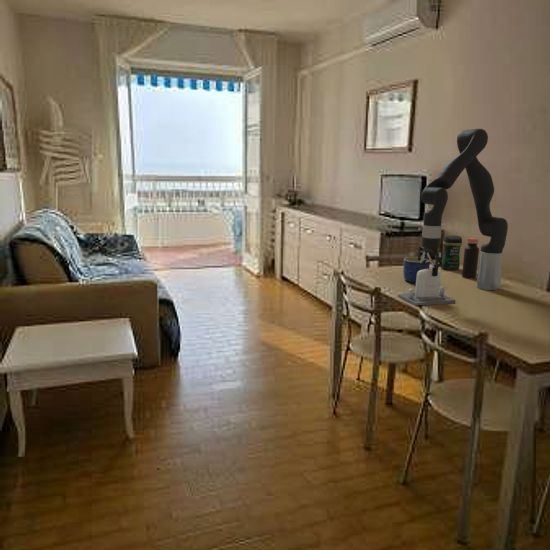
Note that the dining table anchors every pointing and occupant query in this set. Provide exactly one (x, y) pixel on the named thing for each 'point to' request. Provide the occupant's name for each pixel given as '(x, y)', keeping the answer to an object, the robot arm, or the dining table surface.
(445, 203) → the robot arm
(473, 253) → the bottle
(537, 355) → the dining table surface
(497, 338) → the dining table surface
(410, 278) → the planter
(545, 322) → the dining table surface
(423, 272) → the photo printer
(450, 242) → the coffee jar
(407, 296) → the docking tray
